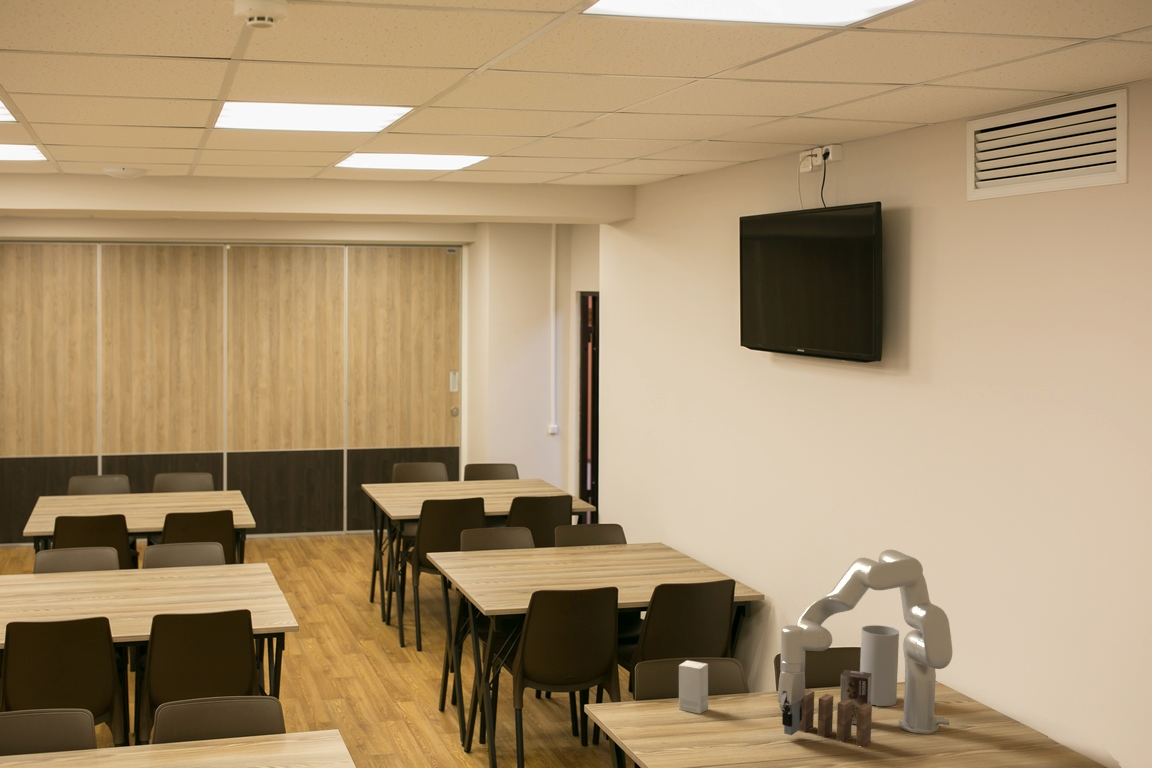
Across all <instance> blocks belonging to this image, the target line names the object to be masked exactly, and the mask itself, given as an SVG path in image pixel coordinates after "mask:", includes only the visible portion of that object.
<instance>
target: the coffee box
mask: <svg viewBox="0 0 1152 768" xmlns="http://www.w3.org/2000/svg"><path fill="white" fill-rule="evenodd" d="M844 699H850V700H852V725H853V724H857V708H858V707H860V706H861V705H863V704H864V703H866V704H870V705H871V673H866V672H860V670H859V671H858V670H853V669H852V670H851V669H844V670H843V672H841V674H840V701H842V700H844ZM840 701H839V702H840Z"/></svg>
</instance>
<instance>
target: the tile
mask: <svg viewBox="0 0 1152 768" xmlns="http://www.w3.org/2000/svg"><path fill="white" fill-rule="evenodd" d="M786 703H789V702H788V701H786ZM786 707H787V708H788V709H789V706H788V705H786ZM791 714H793V716H792V727H789V726H785V725H783V727H784V728H783V730H784V731H783V733H784V734H785V735H789V736H792V735H794V734H796V733H798V732H800V731H799V730H800V701H798V702H797V703H795V704H793V706H792V712H791Z"/></svg>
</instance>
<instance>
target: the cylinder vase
mask: <svg viewBox="0 0 1152 768" xmlns="http://www.w3.org/2000/svg"><path fill="white" fill-rule="evenodd" d="M860 634H861V635H860V637H861V638H860V639H861V640H860V664H859V672H866V673H871V705H876V706H875V707H878V706H888V707H891V706H894V705H896V703H897V697H898V696H897V694H898V693H897V692H898V671H899V668H898V667H899V647H900V646H899V645H900V644H899V643H900V642H899V641H900V631H899V630H898V629H896V628H894V627H890V626H887V625H879V624H878V625H877V624H876V625H874V624H871V625H864V626H862V627H861V633H860Z"/></svg>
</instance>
